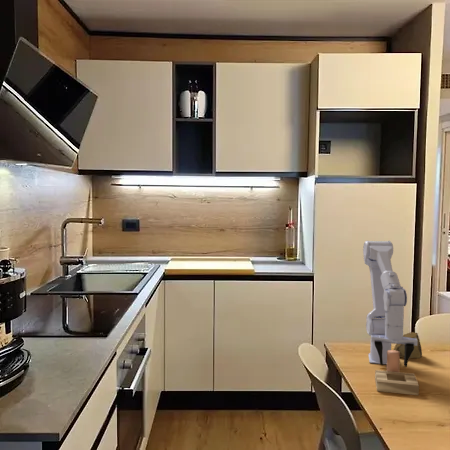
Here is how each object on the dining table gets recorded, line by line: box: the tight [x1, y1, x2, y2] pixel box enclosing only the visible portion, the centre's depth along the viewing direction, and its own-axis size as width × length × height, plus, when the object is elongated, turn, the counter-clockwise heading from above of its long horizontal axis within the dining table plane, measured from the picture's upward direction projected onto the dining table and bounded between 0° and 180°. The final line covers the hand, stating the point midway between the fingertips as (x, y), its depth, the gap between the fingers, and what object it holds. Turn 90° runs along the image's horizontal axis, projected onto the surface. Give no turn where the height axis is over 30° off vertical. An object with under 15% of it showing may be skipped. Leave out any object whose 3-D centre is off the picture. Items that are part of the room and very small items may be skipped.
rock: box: [393, 331, 423, 359], centre depth 180 cm, size 11×9×10 cm
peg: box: [386, 349, 401, 372], centre depth 160 cm, size 4×4×8 cm
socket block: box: [374, 369, 420, 396], centre depth 150 cm, size 10×12×3 cm
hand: (393, 364), depth 160 cm, fingers open, 7 cm apart
